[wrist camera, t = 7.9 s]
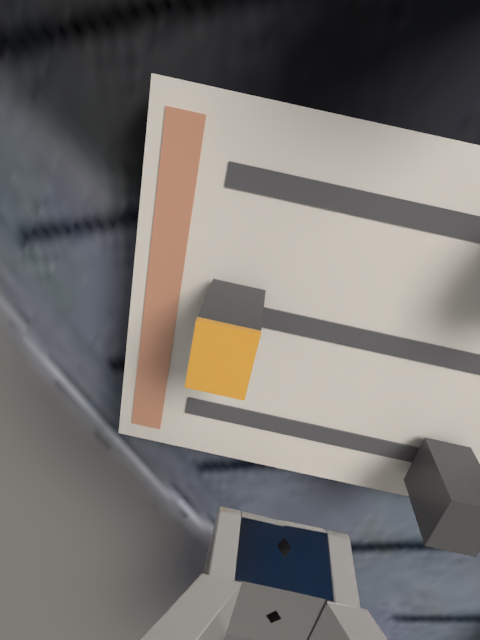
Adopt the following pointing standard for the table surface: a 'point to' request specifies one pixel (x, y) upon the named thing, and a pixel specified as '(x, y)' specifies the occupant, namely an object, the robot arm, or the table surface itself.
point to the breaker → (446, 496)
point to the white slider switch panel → (307, 284)
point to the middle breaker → (226, 339)
